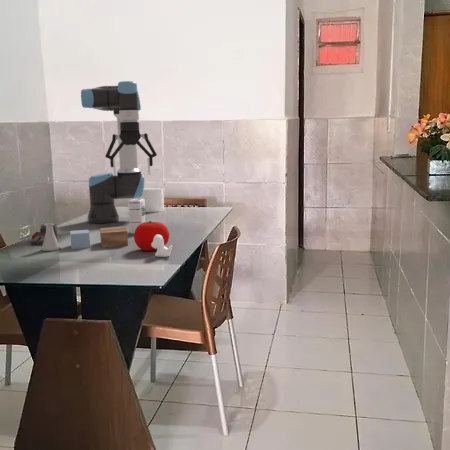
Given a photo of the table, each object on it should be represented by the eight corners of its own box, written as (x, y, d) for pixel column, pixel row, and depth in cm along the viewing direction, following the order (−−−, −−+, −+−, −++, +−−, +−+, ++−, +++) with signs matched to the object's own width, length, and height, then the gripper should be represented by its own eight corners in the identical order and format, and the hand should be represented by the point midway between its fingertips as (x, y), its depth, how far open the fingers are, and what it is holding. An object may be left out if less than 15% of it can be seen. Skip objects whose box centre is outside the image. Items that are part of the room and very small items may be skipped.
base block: (100, 242, 225) (99, 228, 224) (125, 241, 228) (125, 226, 227) (101, 248, 216) (101, 232, 215) (128, 246, 218) (127, 231, 217)
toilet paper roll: (162, 212, 298) (161, 189, 296) (140, 212, 298) (139, 190, 296) (165, 208, 309) (164, 187, 307) (144, 209, 310) (143, 187, 307)
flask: (43, 247, 218) (41, 222, 216) (62, 247, 219) (60, 222, 217) (39, 252, 211) (37, 226, 209) (58, 251, 212) (56, 225, 210)
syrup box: (142, 233, 241) (140, 200, 238) (129, 233, 242) (127, 200, 239) (147, 231, 246) (145, 198, 243) (134, 231, 247) (132, 198, 245)
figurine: (153, 254, 202) (152, 233, 201) (175, 254, 201) (174, 232, 200) (150, 258, 197) (149, 236, 196) (172, 258, 196) (171, 236, 195)
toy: (49, 251, 224) (62, 236, 237) (46, 237, 221) (59, 223, 235) (28, 251, 224) (42, 236, 238) (25, 237, 222) (39, 223, 236)
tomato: (131, 248, 213) (129, 220, 211) (164, 244, 218) (163, 217, 216) (139, 255, 202) (137, 225, 200) (173, 250, 207) (172, 221, 205)
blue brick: (71, 245, 221) (70, 230, 220) (89, 244, 223) (88, 229, 222) (71, 249, 214) (70, 234, 213) (90, 248, 216) (89, 232, 215)
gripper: (96, 122, 216) (99, 176, 220) (160, 120, 219) (163, 174, 222) (98, 122, 224) (102, 175, 227) (161, 120, 226) (163, 173, 230)
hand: (132, 175), depth 225 cm, fingers open, 13 cm apart
